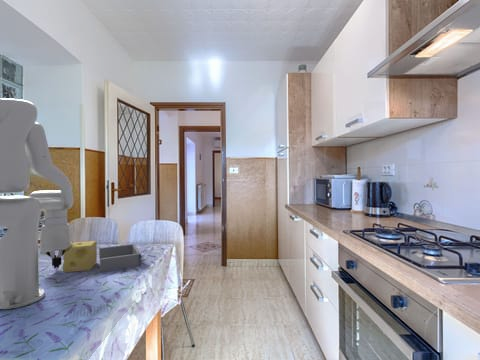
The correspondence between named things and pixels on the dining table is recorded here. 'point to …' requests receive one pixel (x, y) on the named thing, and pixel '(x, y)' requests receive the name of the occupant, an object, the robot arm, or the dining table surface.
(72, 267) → the cheese
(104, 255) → the bin
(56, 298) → the dining table surface
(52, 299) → the dining table surface
